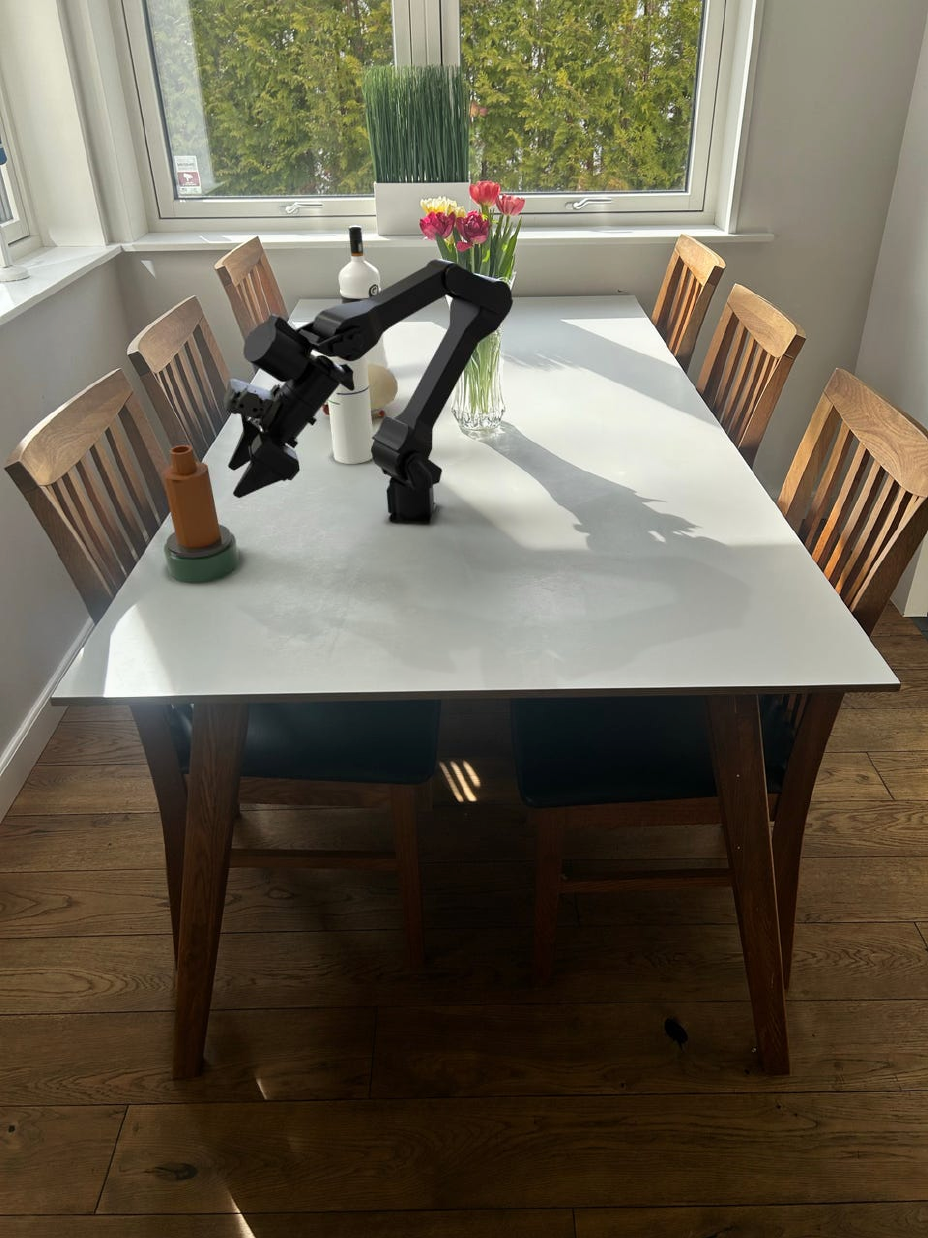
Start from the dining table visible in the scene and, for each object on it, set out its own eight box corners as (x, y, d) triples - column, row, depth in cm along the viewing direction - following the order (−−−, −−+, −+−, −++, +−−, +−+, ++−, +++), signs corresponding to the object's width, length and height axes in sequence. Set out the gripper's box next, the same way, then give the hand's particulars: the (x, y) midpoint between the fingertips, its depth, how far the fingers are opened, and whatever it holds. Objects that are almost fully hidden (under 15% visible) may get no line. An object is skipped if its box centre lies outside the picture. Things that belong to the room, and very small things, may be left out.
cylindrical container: (367, 465, 164) (355, 320, 151) (328, 462, 166) (312, 318, 152) (379, 448, 170) (368, 307, 156) (341, 446, 171) (327, 306, 158)
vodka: (370, 363, 209) (358, 219, 192) (397, 373, 203) (388, 225, 187) (337, 374, 204) (322, 226, 187) (364, 384, 198) (351, 233, 181)
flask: (409, 422, 180) (315, 438, 176) (391, 394, 192) (304, 408, 189) (403, 375, 174) (307, 390, 171) (386, 349, 187) (296, 363, 184)
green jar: (249, 550, 140) (244, 523, 138) (224, 585, 132) (219, 557, 130) (185, 546, 142) (179, 519, 139) (157, 580, 134) (150, 553, 131)
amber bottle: (226, 528, 136) (210, 441, 129) (211, 549, 132) (193, 459, 124) (187, 526, 137) (168, 439, 130) (170, 547, 132) (150, 457, 125)
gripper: (247, 338, 131) (181, 424, 135) (260, 382, 116) (185, 477, 120) (310, 386, 137) (245, 467, 141) (331, 434, 122) (257, 523, 126)
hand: (233, 481), depth 131 cm, fingers open, 9 cm apart
